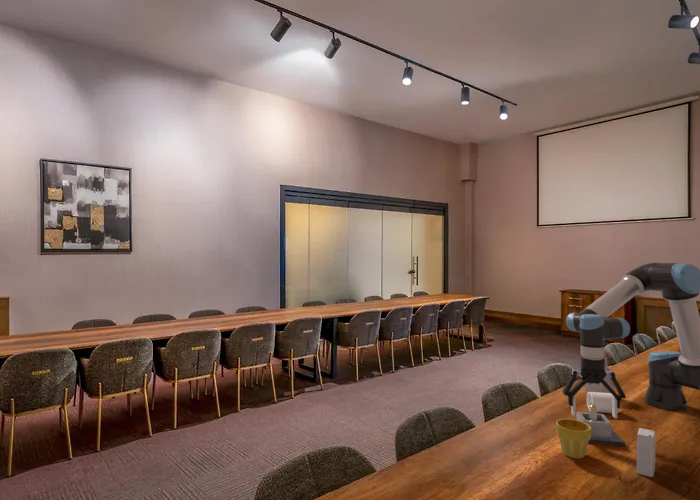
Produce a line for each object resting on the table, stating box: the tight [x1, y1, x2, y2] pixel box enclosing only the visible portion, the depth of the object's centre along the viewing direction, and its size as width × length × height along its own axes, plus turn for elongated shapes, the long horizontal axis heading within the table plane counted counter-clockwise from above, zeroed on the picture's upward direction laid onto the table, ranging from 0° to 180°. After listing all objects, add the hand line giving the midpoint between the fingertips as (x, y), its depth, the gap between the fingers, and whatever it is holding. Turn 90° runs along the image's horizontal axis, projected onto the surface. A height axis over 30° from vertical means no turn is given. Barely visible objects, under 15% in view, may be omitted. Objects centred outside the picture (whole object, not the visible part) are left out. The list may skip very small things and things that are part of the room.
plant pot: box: [555, 418, 591, 459], centre depth 139 cm, size 10×10×10 cm
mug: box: [586, 392, 621, 414], centre depth 178 cm, size 12×10×8 cm
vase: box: [583, 364, 615, 393], centre depth 194 cm, size 13×13×17 cm
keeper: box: [588, 405, 626, 447], centre depth 152 cm, size 16×12×11 cm
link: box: [576, 411, 612, 439], centre depth 152 cm, size 9×9×6 cm
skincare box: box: [635, 427, 656, 478], centre depth 127 cm, size 6×4×12 cm
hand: (594, 415), depth 152 cm, fingers open, 13 cm apart
